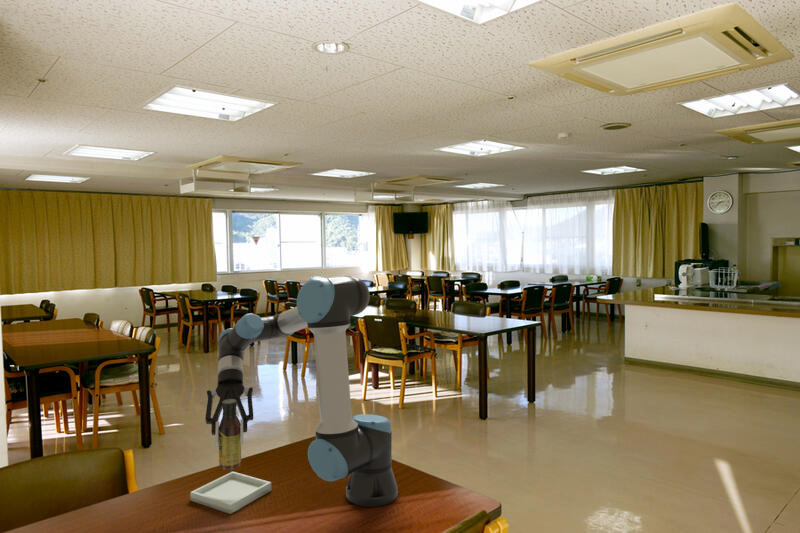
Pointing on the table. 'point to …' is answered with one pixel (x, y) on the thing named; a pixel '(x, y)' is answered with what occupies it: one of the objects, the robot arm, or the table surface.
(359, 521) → the table surface
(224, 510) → the tray
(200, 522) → the table surface
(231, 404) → the sauce bottle
